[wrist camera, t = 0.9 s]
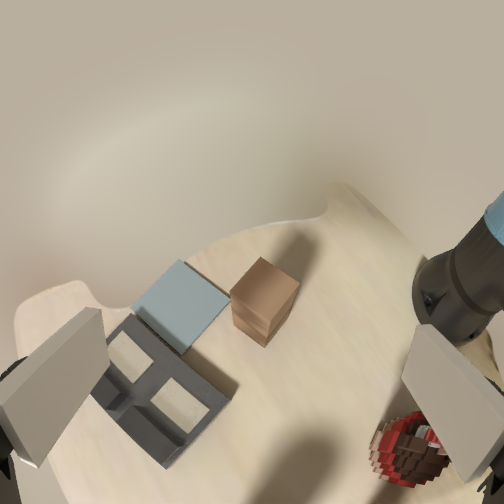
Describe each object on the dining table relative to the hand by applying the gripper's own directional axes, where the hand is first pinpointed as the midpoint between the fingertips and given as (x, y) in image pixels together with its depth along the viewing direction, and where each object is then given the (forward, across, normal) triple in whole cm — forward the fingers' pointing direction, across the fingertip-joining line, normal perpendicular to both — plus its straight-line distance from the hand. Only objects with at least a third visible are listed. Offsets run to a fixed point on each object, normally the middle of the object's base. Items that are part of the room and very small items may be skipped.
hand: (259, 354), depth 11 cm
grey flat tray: (+19, -13, -19) cm, 30 cm away
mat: (+27, -10, -10) cm, 31 cm away
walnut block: (+26, +1, -12) cm, 29 cm away
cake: (+14, +20, -25) cm, 34 cm away
